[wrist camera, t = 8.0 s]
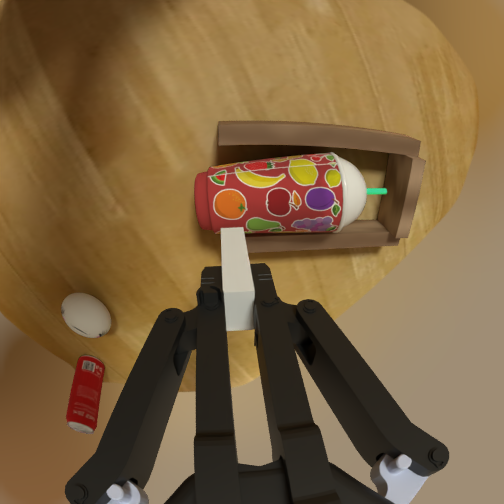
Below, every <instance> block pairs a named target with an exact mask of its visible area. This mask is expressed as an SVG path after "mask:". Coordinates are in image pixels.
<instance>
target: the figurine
mask: <svg viewBox="0 0 504 504" xmlns="http://www.w3.org/2000/svg"><path fill="white" fill-rule="evenodd" d="M61 311H62V316H63V318H64V320H65V322H66V324H67V325H68V326H69V327H70V328H71V329H72V330H73V331H75V332H76V333H78V334H80V335H82V336H84V337H89V338H98V337H101V336H103V335H105V334H106V333H107V332H108V331H109V329H110V327H111V316H110V313H109V311H108V310H107V308H106V307H105V305H104V304H103V303H102V302H101V301H99V300H98V299H97V298H95V297H93V296H91V295H89V294H85V293H73V294H70V295H68V296H67V297H66V298H65V299H64V301H63V303H62V307H61Z"/></svg>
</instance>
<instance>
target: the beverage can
mask: <svg viewBox="0 0 504 504" xmlns="http://www.w3.org/2000/svg"><path fill="white" fill-rule="evenodd" d="M104 370H105V367H104V365H103V363H102V362H101V361H100V360H99V359H97V358H96V357H93V356H90V355H83V356H81V357H80V358H79V359H78V362H77V366H76V370H75V375H74V379H73V384H72V388H71V393H70V398H69V403H68V409H67V415H66V419H67V425H68V426H69V427H70V428H72V429H74V430H76V431H79V432H82V433H86V434H92V433H94V430H95V429H96V427H97V418H98V410H99V401H100V395H101V388H102V382H103V376H104Z"/></svg>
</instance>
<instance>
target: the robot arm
mask: <svg viewBox="0 0 504 504" xmlns="http://www.w3.org/2000/svg"><path fill="white" fill-rule="evenodd" d="M221 254H222V266H213V267H205V268H204V270H203V271H202V274H201V287H200V288H199V289H198V290H197V293H196V295H197V302H198V306H197V307H196V308H194V309H193V310H190V311H187V312H184V313H183V312H182V311H181V310H180V309H177V308H169V309H166V310H164V311H162V312H161V313H160V314H159V316H158V318H157V320H156V322H155V324H154V326H153V328H152V330H151V332H150V334H149V336H148V338H147V340H146V342H145V344H144V346H143V348H142V350H141V352H140V354H139V356H138V358H137V360H136V362H135V364H134V366H133V369H132V371H131V373H130V375H129V377H128V379H127V381H126V383H125V386H124V388H123V390H122V392H121V394H120V397H119V399H118V401H117V403H116V406H115V408H114V410H113V412H112V415H111V417H110V419H109V422H108V424H107V426H106V429H105V431H104V433H103V436H102V438H101V440H100V443H99V446H98V448H97V450H96V453H95V454H94V455H93V456H92V457H91V458H90V459H89V460H88V461H87V462H86V463H85V464H84V465H83V466H82V467H81V468H80V469H79V471H78V472H77V473H76V474H75V475H74V476H73V477H72V478H71V479H70V480H69V481H68V482H67V484H66V486H65V494H66V498H67V499H68V501H69V502H70V503H71V504H148V503H149V500H148V496H147V494H146V493H145V491H143V489H144V487H145V485H146V483H147V482H148V480H149V478H150V475H151V472H152V470H153V467H154V463H155V460H156V457H157V454H158V451H159V448H160V444H161V441H162V438H163V435H164V432H165V429H166V426H167V423H168V420H169V417H170V414H171V411H172V408H173V405H174V402H175V399H176V396H177V393H178V390H179V387H180V384H181V381H182V378H183V375H184V373H185V370H186V367H187V364H188V361H189V358H190V355H191V352H192V350H194V349H196V436H195V437H194V469H195V473H194V474H192V475H191V476H189V477H188V478H187V479H186V480H185V481H184V482H183V483H182V484H181V485H180V487H178V489H177V490H176V491H175V492H174V493H173V494H172V496H170V498H169V499H168V500H167V501H166V502H165V503H164V504H409V503H410V502H411V500H412V499H413V498H414V496H415V495H416V494H417V492H418V491H419V489H420V488H421V487H422V485H423V483H424V482H425V480H426V479H427V478H428V477H429V476H430V475H431V474H434V473H436V472H437V471H439V470H441V469H443V468H444V467H445V466H446V464H447V462H448V460H449V451H448V449H447V447H446V446H445V445H444V444H443V443H441V442H440V441H438V440H437V439H435V438H434V437H432V436H430V435H429V434H427V433H426V432H424V431H423V430H421V429H420V428H418V427H417V426H415V425H414V424H413V423H411V422H410V420H409V419H408V418H407V416H406V415H405V414H404V412H403V411H402V409H401V408H400V407H399V405H398V404H397V403H396V401H395V400H394V399H393V398H392V396H391V395H390V393H389V392H388V391H387V389H386V388H385V387H384V386H383V384H382V383H381V381H380V380H379V379H378V378H377V376H376V375H375V374H374V372H373V371H372V370H371V368H370V367H369V366H368V364H367V363H366V362H365V360H364V359H363V358H362V357H361V355H360V354H359V353H358V351H357V350H356V349H355V347H354V346H353V345H352V344H351V342H350V341H349V340H348V338H347V337H346V336H345V335H344V333H343V332H342V331H341V329H340V328H339V327H338V326H337V324H336V323H335V322H334V320H333V319H332V318H331V317H330V315H329V314H328V313H327V312H326V310H325V309H324V308H323V307H322V305H321V304H320V303H319V302H317V301H315V300H310V299H306V300H302V301H300V302H299V303H298V304H297V305H291V304H287V303H284V302H282V301H281V299H280V298H279V297H278V296H277V293H276V290H275V286H274V282H273V279H272V275H271V271H270V268H269V267H268V266H267V265H266V264H265V263H260V264H250V262H249V257H248V251H247V245H246V240H245V234H244V229H243V227H236V228H221ZM252 329H255V338H254V346H256V350H257V357H258V363H259V370H260V376H261V383H262V389H263V395H264V401H265V408H266V414H267V421H268V427H269V433H270V439H271V445H272V459H273V462H271V463H269V464H266V465H263V466H254V465H246V464H239V463H238V458H237V449H236V440H235V430H234V419H233V409H232V396H231V384H230V371H229V358H228V344H227V331H237V330H252ZM295 351H296V352H297V354H298V355H299V357H300V359H301V360H302V362H303V364H304V365H305V367H306V369H307V370H308V372H309V374H310V375H311V377H312V379H313V380H314V382H315V383H316V385H317V387H318V388H319V390H320V392H321V393H322V395H323V396H324V398H325V400H326V401H327V403H328V404H329V406H330V408H331V409H332V411H333V413H334V414H335V416H336V417H337V419H338V421H339V422H340V424H341V425H342V427H343V429H344V430H345V432H346V433H347V435H348V437H349V438H350V440H351V441H352V443H353V445H354V446H355V448H356V450H357V451H358V452H359V454H360V455H361V456H362V458H363V459H364V460H365V461H366V462H367V463H368V464H369V465H370V466H371V467H372V469H371V472H370V477H371V480H372V482H373V483H374V484H375V485H376V487H377V490H378V493H376V492H375V491H373V490H371V489H370V488H368V487H366V486H365V485H364V484H362V483H361V482H359V481H358V480H356V479H355V478H353V477H352V476H350V475H349V474H347V473H346V472H344V471H343V470H341V469H340V468H338V467H337V466H336V465H334V464H332V463H330V462H328V458H327V454H326V450H325V446H324V442H323V438H322V435H321V431H320V429H319V427H318V426H317V425H316V424H315V423H314V421H313V418H312V414H311V410H310V406H309V402H308V398H307V394H306V391H305V387H304V383H303V379H302V375H301V372H300V368H299V364H298V360H297V357H296V353H295Z"/></svg>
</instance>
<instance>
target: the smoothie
mask: <svg viewBox="0 0 504 504" xmlns="http://www.w3.org/2000/svg"><path fill="white" fill-rule="evenodd" d="M367 194H387V189H386V188H366V183H365V181H364V178H363V176H362V174H361V173H360V171H359V170H358V169H357V168H356V167H355V166H354V165H353V164H351V163H350V162H348V161H347V160H345V159H343V158H341V157H338V156H337V155H336V154H335V153H333V152H329V153H322V154H309V155H298V156H288V157H278V158H269V159H261V160H253V161H246V162H239V163H232V164H225V165H219V166H213V167H209V169H208V171H207V172H202V173H199V174H197V176H196V179H195V185H194V196H195V208H196V214H197V219H198V223H199V225H200V227H201V228H202V229H203V230H213V231H214V233H215V234H221V228H236V227H243V229H244V233H294V232H333V233H337V232H339V231H341V229H342V228H343V227H345V226H347V225H349V224H350V223H352V222H353V221H355V220H356V219H357V218H358V217H359V215H360V214H361V213H362V211H363V209H364V207H365V204H366V200H367Z"/></svg>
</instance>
